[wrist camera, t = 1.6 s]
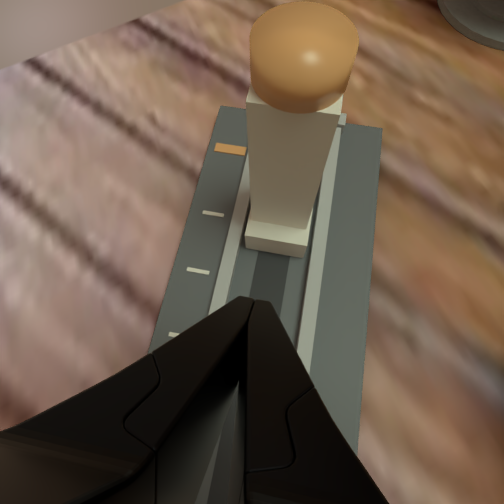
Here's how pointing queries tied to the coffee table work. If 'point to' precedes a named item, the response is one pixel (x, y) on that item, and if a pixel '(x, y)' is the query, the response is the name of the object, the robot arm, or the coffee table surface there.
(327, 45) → the fader knob
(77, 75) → the coffee table surface
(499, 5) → the mate gourd
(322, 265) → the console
